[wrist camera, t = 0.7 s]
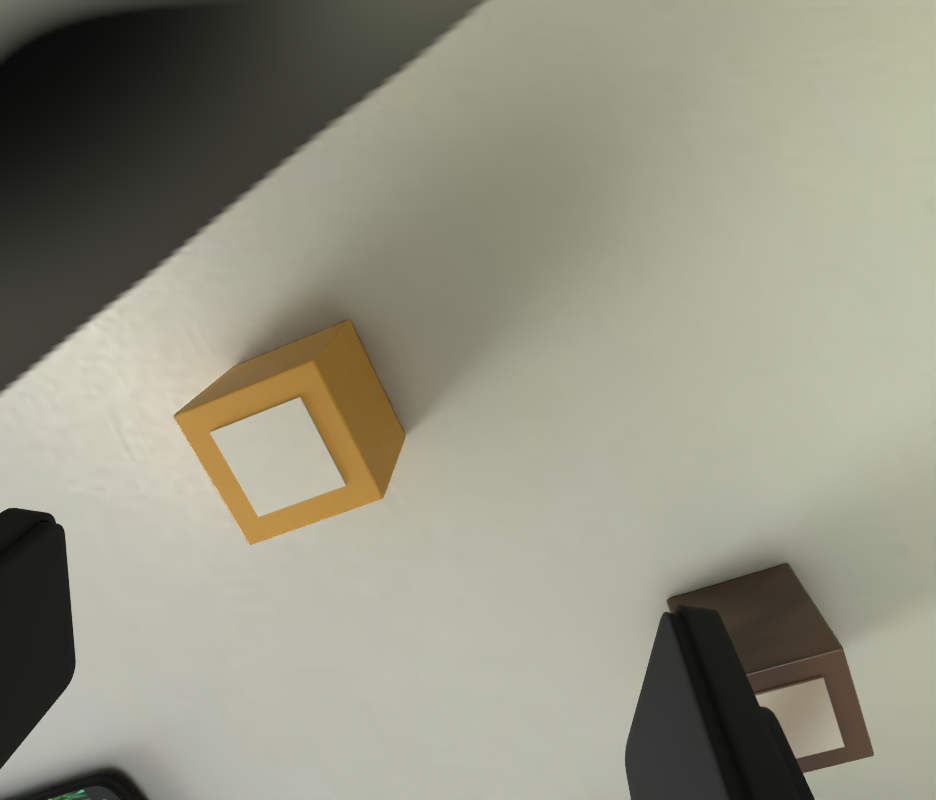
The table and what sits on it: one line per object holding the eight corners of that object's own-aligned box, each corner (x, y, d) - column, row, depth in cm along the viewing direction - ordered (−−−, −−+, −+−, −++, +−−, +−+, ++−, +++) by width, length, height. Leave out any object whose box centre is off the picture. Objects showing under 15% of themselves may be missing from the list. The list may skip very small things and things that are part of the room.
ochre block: (350, 318, 26) (312, 359, 21) (406, 436, 27) (384, 500, 22) (231, 366, 26) (170, 416, 22) (293, 478, 28) (247, 548, 23)
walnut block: (788, 562, 28) (844, 649, 23) (817, 658, 29) (876, 758, 25) (665, 599, 29) (695, 690, 24) (700, 689, 30) (735, 793, 26)
